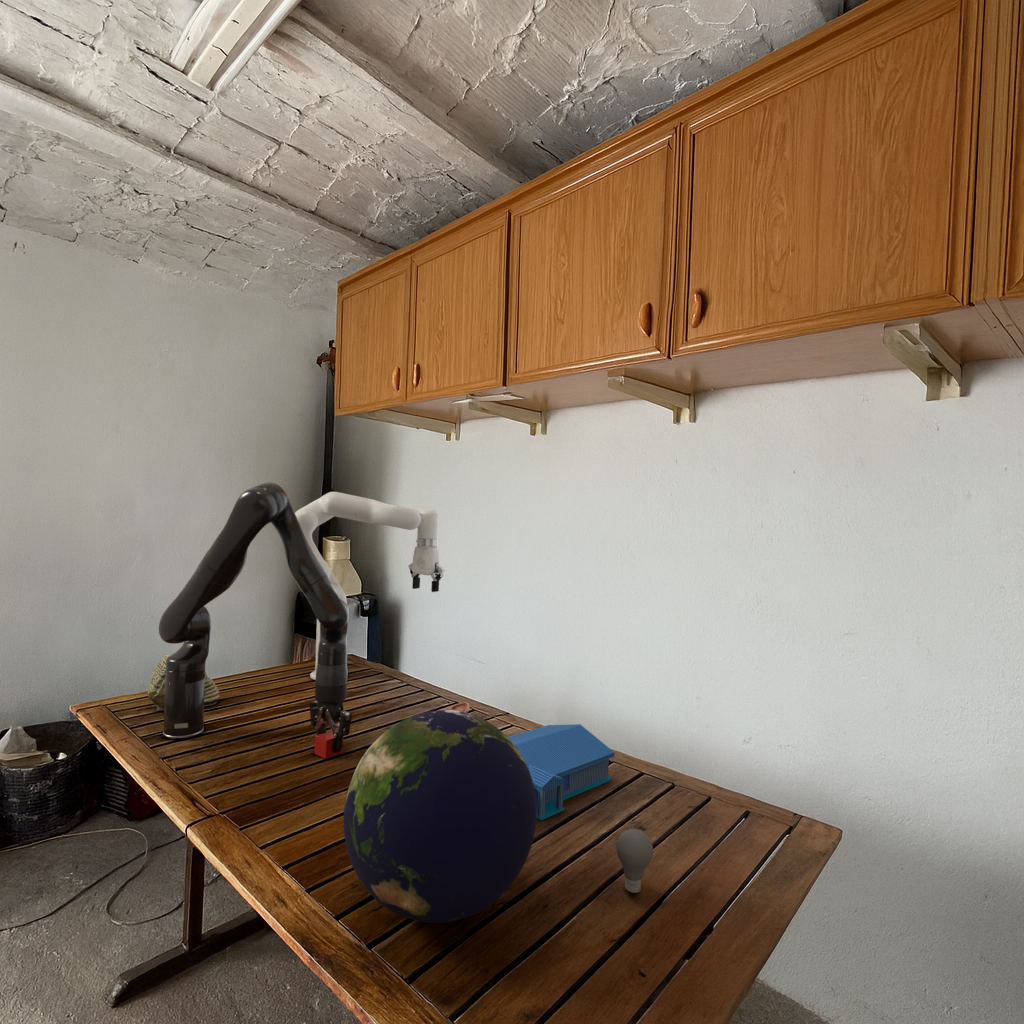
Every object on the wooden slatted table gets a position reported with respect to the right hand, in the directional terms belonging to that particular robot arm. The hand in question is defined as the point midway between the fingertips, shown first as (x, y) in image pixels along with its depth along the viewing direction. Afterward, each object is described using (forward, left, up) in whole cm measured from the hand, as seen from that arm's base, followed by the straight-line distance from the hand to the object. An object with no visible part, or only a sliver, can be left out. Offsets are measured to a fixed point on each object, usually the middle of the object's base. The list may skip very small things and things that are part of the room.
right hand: (425, 590), depth 231 cm
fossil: (+10, -78, -30) cm, 84 cm away
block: (+60, -48, -30) cm, 82 cm away
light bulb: (+136, -15, -30) cm, 140 cm away
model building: (+97, -13, -30) cm, 102 cm away
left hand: (+60, -48, -29) cm, 82 cm away
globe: (+126, -46, -30) cm, 137 cm away
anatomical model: (+49, -12, -30) cm, 59 cm away
